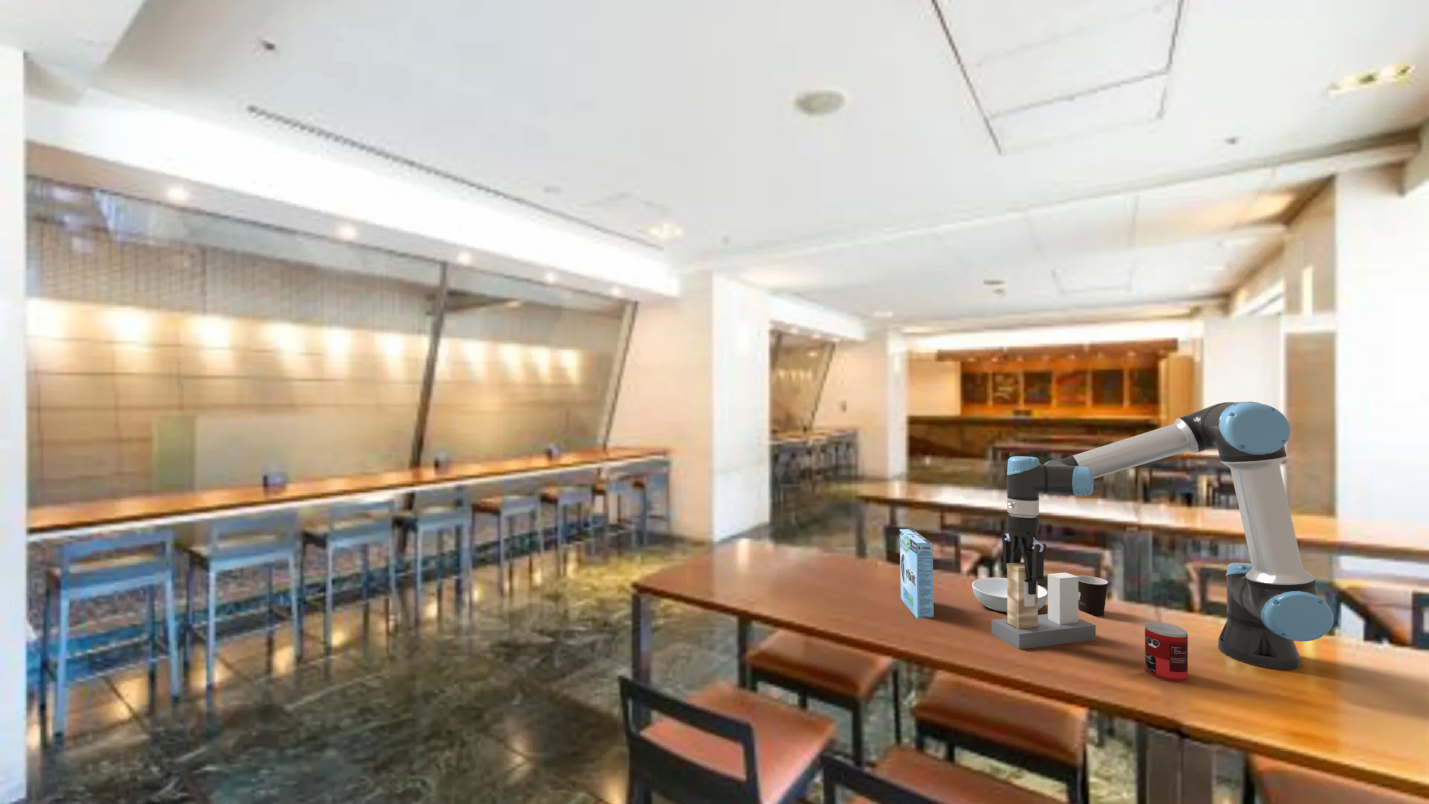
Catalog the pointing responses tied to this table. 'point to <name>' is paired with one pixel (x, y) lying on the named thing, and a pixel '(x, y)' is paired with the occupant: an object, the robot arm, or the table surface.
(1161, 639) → the canned food
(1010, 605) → the beech plug
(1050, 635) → the grey peg board
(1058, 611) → the white plug
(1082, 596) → the coffee mug
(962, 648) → the table surface
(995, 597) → the serving bowl
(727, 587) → the table surface
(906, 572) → the gum box
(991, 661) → the table surface
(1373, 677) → the table surface
